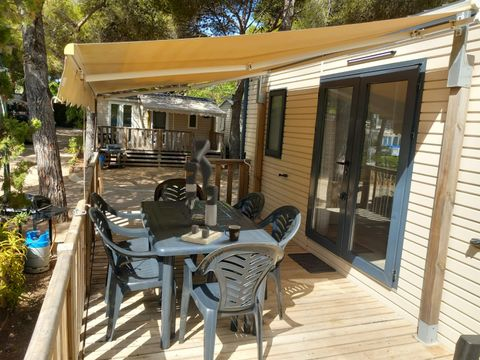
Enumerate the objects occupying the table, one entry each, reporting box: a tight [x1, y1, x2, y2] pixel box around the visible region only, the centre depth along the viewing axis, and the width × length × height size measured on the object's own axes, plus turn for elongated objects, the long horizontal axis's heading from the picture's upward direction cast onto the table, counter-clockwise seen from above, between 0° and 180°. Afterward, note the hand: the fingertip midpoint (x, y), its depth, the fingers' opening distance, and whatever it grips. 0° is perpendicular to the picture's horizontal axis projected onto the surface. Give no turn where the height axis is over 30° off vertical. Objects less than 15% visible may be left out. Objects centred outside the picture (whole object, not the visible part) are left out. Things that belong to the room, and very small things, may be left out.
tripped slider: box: [190, 224, 200, 233], centre depth 280 cm, size 4×4×5 cm
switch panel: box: [181, 228, 222, 245], centre depth 278 cm, size 24×20×3 cm
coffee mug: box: [224, 225, 241, 243], centre depth 276 cm, size 12×9×10 cm
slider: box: [202, 228, 210, 238], centre depth 270 cm, size 4×4×5 cm
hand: (190, 213), depth 271 cm, fingers closed
